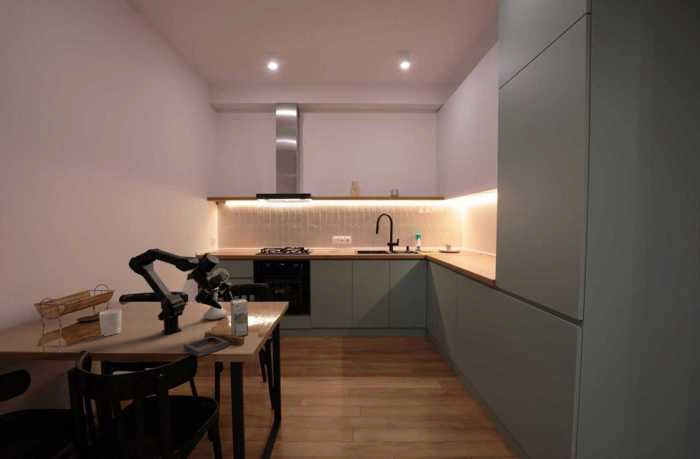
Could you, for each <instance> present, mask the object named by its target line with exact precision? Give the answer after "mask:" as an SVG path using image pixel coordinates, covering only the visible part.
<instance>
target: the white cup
mask: <svg viewBox="0 0 700 459" xmlns="http://www.w3.org/2000/svg"><path fill="white" fill-rule="evenodd" d="M122 311H123V309H121V308H116V309H115V308H114V309H107V310H104V311H101V312H99V313H98V315H99V324H100V331H101V336H102V335H104V336H105V337H106V335H107V337H109V336H108V335H113V334H117V333H119V334H120V332H121V333H122V323H123V322H122V320H123V317H122V316H123V312H122ZM117 335H118V334H117ZM104 336H103V337H104ZM113 336H114V335H113Z"/></svg>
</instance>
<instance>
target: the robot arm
mask: <svg viewBox="0 0 700 459" xmlns="http://www.w3.org/2000/svg"><path fill="white" fill-rule="evenodd" d="M156 261H160V262H163V263H167V264H169V265H173V266H174V267H175V268H176V269H177V270H179V271H181V272H184V273H185V272H190V271H191V272H190V273H187V276H186V280H187V281H190V280H193V281H194V282H195V283H196V284H197V288H198V289H199V290H200V291H199V292H198V293H197V294H196V296H195V297H194V299H195V300H194V301H195V302H196V303H197V304H201V305H205V306H209V307H211V306H212V307H215V308H218V309H221V308H223V307H222V305H221V304H220V302H219V301H218V299H217V300H216V298H215V297H214V294H215V293H218V295H220V297H221V298H222V299H224V300H226V301H228V302H229V303H230V301H232V300H235V299H234V296H233V294H232V291H231V290H232V287H233V283H232V282H231V281H228V280H229V278H227V277H228V274H227V273H226V272H224V271H223V272H221V273H219V274H218V275H216V276H213V275H209V273H212V271H213V270H214V269H215V268H216V267H217V265H218V264H219V263H220V259H219V258H218V257H217V256H215V255H214V254H211V253H210V252H205V253H204V254H203V256H202V257H201V259H199V258H197V257H195V256H183V255H177V254H174V253H171V252H168V251H165V250H161V249H160V248H149V249H148V250H146V251H144V252H142V253H140V254H139V255H136V256H132V257H131V258H130V259H129V261H128V266H129V268H130V270H132V272H134V273H135V274H136V275H140V276H141V277H142V278H143V279H144V281H145V282H146V283H147V285H148V286H149V287H150V288H151V290H152V291H153V292H154V294H155V295H156V297H157V298H158V299H159V300H160V308H161V311H160V312H159V313H158V315H157V318H158V321H162V322H163V329H162V330H160V331H161V333H162V334H164V335H165V336H166V335H170V334H175V333H178V332H182V329H181V328H180V327H179V317H180V316H183V313H184V310H185V307H186V303H185V299H183V298H182V296H181V294H179V293H177V294H173V293H172V292H171V291H170V290H169V288H168V287H167V286H166V284H165V282H163V280H162V279H161V278H160V276H159V275H158V274H157V272H156V271H155V269H154V268H155V266H154V264H155V262H156ZM227 279H228V280H227ZM224 280H227V281H224ZM222 281H224V283H222V284H221V282H222ZM220 285H221V286H220Z"/></svg>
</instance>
